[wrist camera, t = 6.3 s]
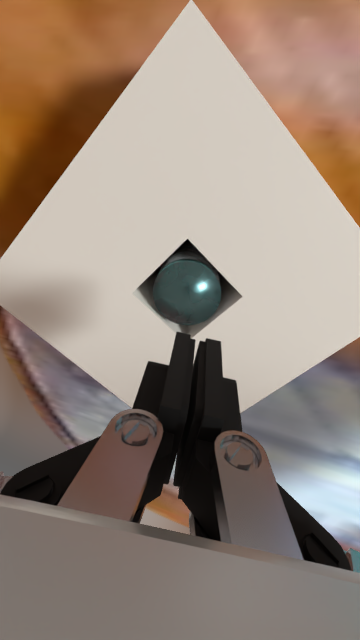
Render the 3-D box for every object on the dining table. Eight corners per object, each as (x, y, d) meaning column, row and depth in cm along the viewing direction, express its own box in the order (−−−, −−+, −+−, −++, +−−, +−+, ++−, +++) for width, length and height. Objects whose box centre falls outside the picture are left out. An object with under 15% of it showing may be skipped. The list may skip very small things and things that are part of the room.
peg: (192, 223, 23) (187, 246, 17) (226, 261, 25) (235, 296, 18) (156, 259, 25) (138, 293, 18) (190, 292, 26) (186, 337, 19)
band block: (196, 61, 19) (191, -2, 12) (352, 262, 24) (413, 301, 17) (41, 255, 26) (-22, 288, 19) (188, 383, 31) (184, 449, 24)
